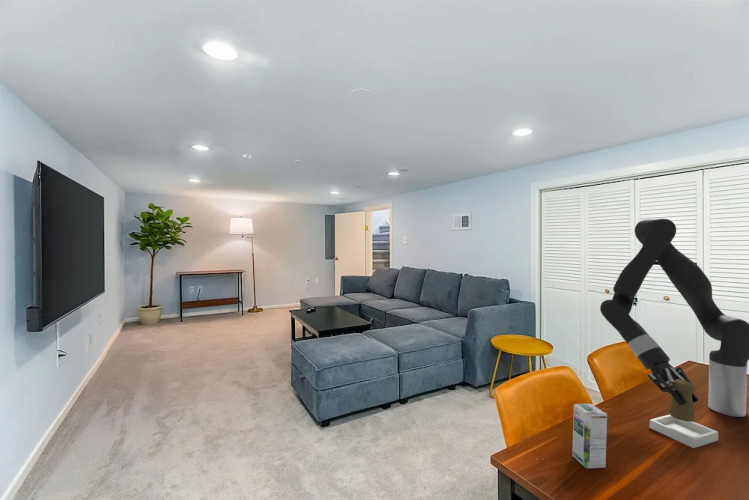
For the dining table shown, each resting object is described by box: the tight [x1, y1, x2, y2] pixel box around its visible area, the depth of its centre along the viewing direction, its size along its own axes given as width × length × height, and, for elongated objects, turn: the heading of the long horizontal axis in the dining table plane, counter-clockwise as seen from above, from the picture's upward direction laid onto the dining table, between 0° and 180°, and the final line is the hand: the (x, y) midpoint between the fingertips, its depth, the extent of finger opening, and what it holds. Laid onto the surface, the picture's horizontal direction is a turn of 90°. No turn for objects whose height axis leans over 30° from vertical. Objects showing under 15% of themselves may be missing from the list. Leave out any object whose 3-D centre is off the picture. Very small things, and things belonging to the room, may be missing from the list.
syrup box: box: [571, 403, 608, 469], centre depth 92 cm, size 6×6×14 cm
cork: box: [668, 379, 696, 422], centre depth 105 cm, size 6×6×11 cm
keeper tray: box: [649, 414, 719, 449], centre depth 105 cm, size 12×12×3 cm
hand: (689, 402), depth 104 cm, fingers closed on cork, 5 cm apart
